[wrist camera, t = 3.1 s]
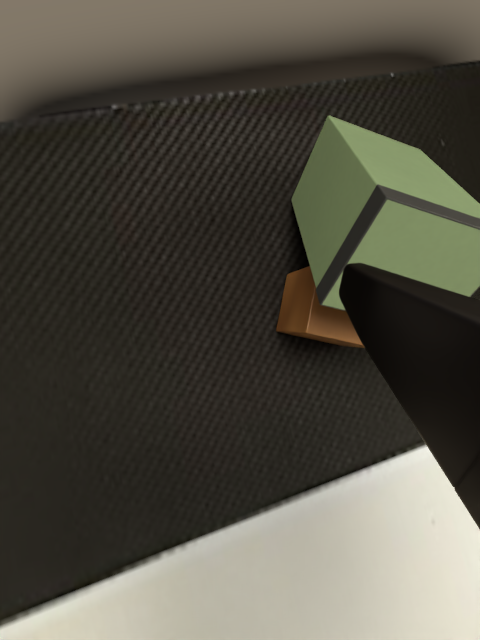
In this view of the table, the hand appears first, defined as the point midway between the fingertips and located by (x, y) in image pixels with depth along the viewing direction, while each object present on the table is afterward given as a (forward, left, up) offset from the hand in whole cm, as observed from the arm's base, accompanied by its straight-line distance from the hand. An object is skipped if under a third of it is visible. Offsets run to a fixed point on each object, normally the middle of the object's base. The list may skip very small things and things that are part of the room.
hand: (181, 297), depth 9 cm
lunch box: (+1, -12, -9) cm, 15 cm away
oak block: (-3, -10, -14) cm, 18 cm away
